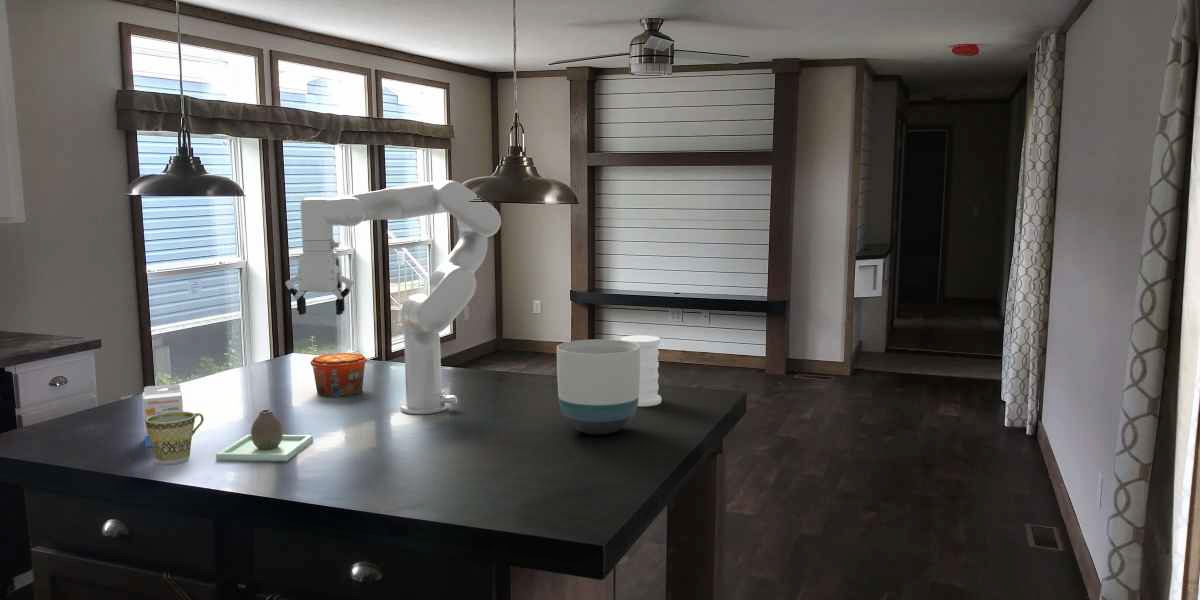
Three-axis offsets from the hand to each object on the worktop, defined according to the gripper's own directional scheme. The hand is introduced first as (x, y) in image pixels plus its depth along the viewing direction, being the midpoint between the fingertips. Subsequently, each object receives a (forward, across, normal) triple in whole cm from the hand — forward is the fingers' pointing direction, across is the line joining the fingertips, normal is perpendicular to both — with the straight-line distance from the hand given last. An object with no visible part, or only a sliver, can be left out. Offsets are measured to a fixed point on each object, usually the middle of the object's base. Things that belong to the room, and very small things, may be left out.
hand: (321, 314), depth 231 cm
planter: (+28, -71, +6) cm, 77 cm away
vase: (+28, +5, +25) cm, 38 cm away
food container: (+29, +8, -34) cm, 45 cm away
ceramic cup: (+28, +22, +32) cm, 48 cm away
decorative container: (+28, -81, -26) cm, 90 cm away
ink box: (+29, +33, +18) cm, 47 cm away
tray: (+28, +5, +25) cm, 38 cm away
